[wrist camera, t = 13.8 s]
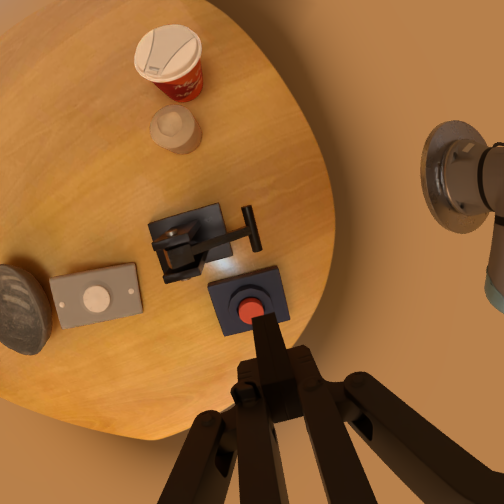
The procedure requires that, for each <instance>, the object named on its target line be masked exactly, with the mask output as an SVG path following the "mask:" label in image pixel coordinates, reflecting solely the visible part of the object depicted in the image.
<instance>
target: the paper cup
mask: <svg viewBox="0 0 504 504" xmlns="http://www.w3.org/2000/svg"><path fill="white" fill-rule="evenodd" d="M201 52H202V45H201V41H200V39H199V37H198V36H197V34H196V33H195V32H193V31H192V30H190V29H189V28H188V27H185V26H183V25H177V24H173V25H165V26H161V27H158V28H156V29H153V30H151V31H150V32H148V33H147V34H146V35H145V36H144V37H143V38H142V39H141V41H140V42H139V44H138V46H137V48H136V52H135V58H134V62H135V67H136V69H137V71H138V73H139V74H140V75H141V76H142V77H143V78H145V79H147V80H149V81H152V82H153V83H154V84H155V85H156V86H157V87H158V88H159V89H160V90H162V91H163V92H164V93H165V94H166V95H168V96H169V97H170V98H171V99H173V100H175V101H178V102H188V101H191V100H193V99H194V98H196V97H197V96H198V95H199V94H200V92H201V90H202V87H203V77H202V68H201V60H200V56H201Z"/></svg>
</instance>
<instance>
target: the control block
mask: <svg viewBox="0 0 504 504" xmlns="http://www.w3.org/2000/svg"><path fill="white" fill-rule="evenodd" d="M207 288H208V291H209V294H210V297H211V300H212V303H213V306H214V309H215V311H216V314H217V317H218V320H219V323H220V326H221V329H222V332H223V334H224V336H229V335H233V334H237V333H241V332H246V331H250V330H253V327H252V324H247V323H245V322H243V321H242V320H241V319H240V317H239V305H240V303H241V302H242V301H243V300H244V299H246V298H256V299H258V300H259V301H260V302H261V303H262V306H263V310H264V315H265V314H268V313H272V312H275V315H276V318H277V321H278V323H280V322H284V321H288V320H290V316H289V311H288V307H287V303H286V298H285V294H284V290H283V286H282V281H281V277H280V273H279V269H278V267H277V265H276V266H272V267H268V268H265V269H261V270H257V271H253V272H250V273H246V274H242V275H238V276H234V277H230V278H227V279H223V280H219V281H215V282H211V283H208V287H207Z"/></svg>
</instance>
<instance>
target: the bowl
mask: <svg viewBox="0 0 504 504" xmlns="http://www.w3.org/2000/svg"><path fill="white" fill-rule="evenodd" d="M51 330H52V311H51V306H50V303H49V300H48V298H47V296H46V294H45V292H44V290H43V288H42V287H41V284H39V282H38V281H37V280H36V278H35V277H34V276H33V275H32V274H30V273H29V272H28V271H26V270H24V269H22V268H19V267H17V266H12V265H7V264H0V342H1V343H2V344H4V345H5V346H7V347H8V348H10V349H13V350H15V351H16V352H18V353H21V354H24V355H35V354H38V353H39V352H40V351H41V349H42V348H43V347H44V345H45V344H46V342H47V340H48V339H49V337H50V334H51Z"/></svg>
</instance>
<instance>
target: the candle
mask: <svg viewBox="0 0 504 504" xmlns="http://www.w3.org/2000/svg"><path fill="white" fill-rule="evenodd" d="M150 134H151V137H152V139H153V140H154V142H155V143H156V144H158V145H159V146H161V147H163V148H165V149H168V150H170V151H172V152H174V153H177V154H187V153H190V152H192V151H193V150H195V149H196V148H197V147H198V145H199V144H200V141H201V138H202V132H201V129H200V126H199V125H198V123H197V121H196V120H195V118H194V117H193V115H192V113H191V112H190V111H189V110H188V109H187V108H185V107H183V106H181V105H168V106H165V107H163V108H161V109H160V110H159V111H158V112H156V114H155V115H154V116H153V118H152V120H151V123H150Z"/></svg>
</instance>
